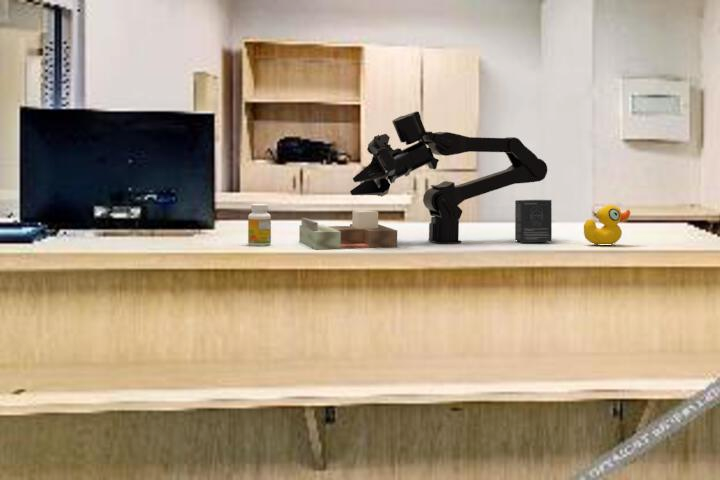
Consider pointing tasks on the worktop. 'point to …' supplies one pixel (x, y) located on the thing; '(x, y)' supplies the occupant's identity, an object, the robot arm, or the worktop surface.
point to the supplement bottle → (259, 225)
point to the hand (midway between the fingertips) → (352, 186)
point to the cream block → (365, 219)
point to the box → (533, 220)
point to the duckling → (606, 226)
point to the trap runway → (345, 236)
